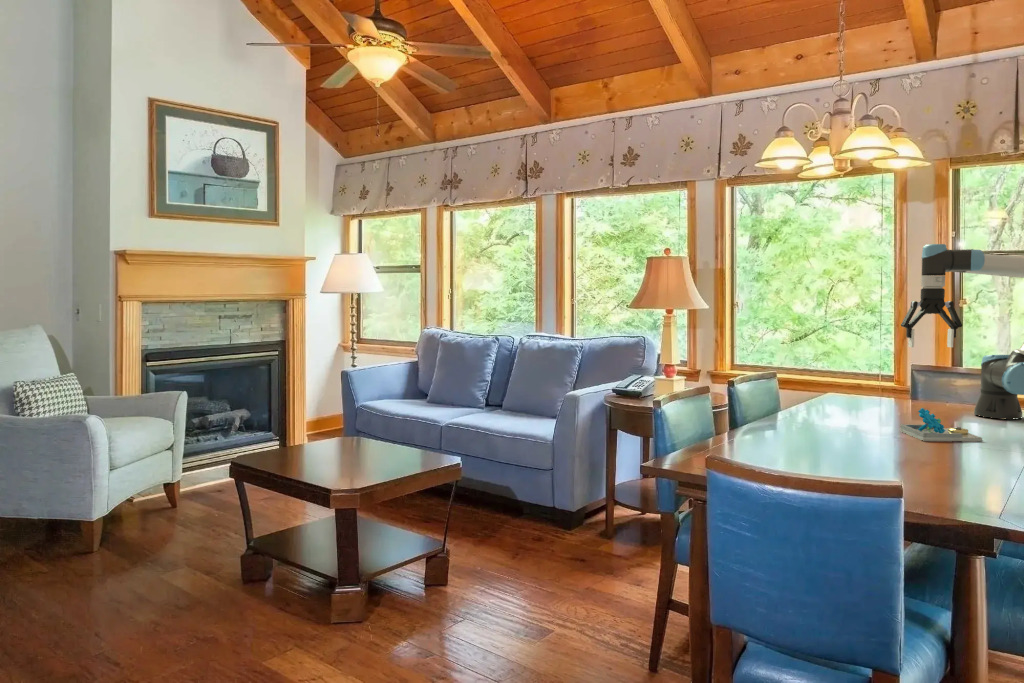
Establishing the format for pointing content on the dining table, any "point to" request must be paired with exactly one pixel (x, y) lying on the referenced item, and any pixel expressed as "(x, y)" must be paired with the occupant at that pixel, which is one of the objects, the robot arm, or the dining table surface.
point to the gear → (930, 421)
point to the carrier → (939, 434)
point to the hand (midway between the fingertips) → (930, 347)
